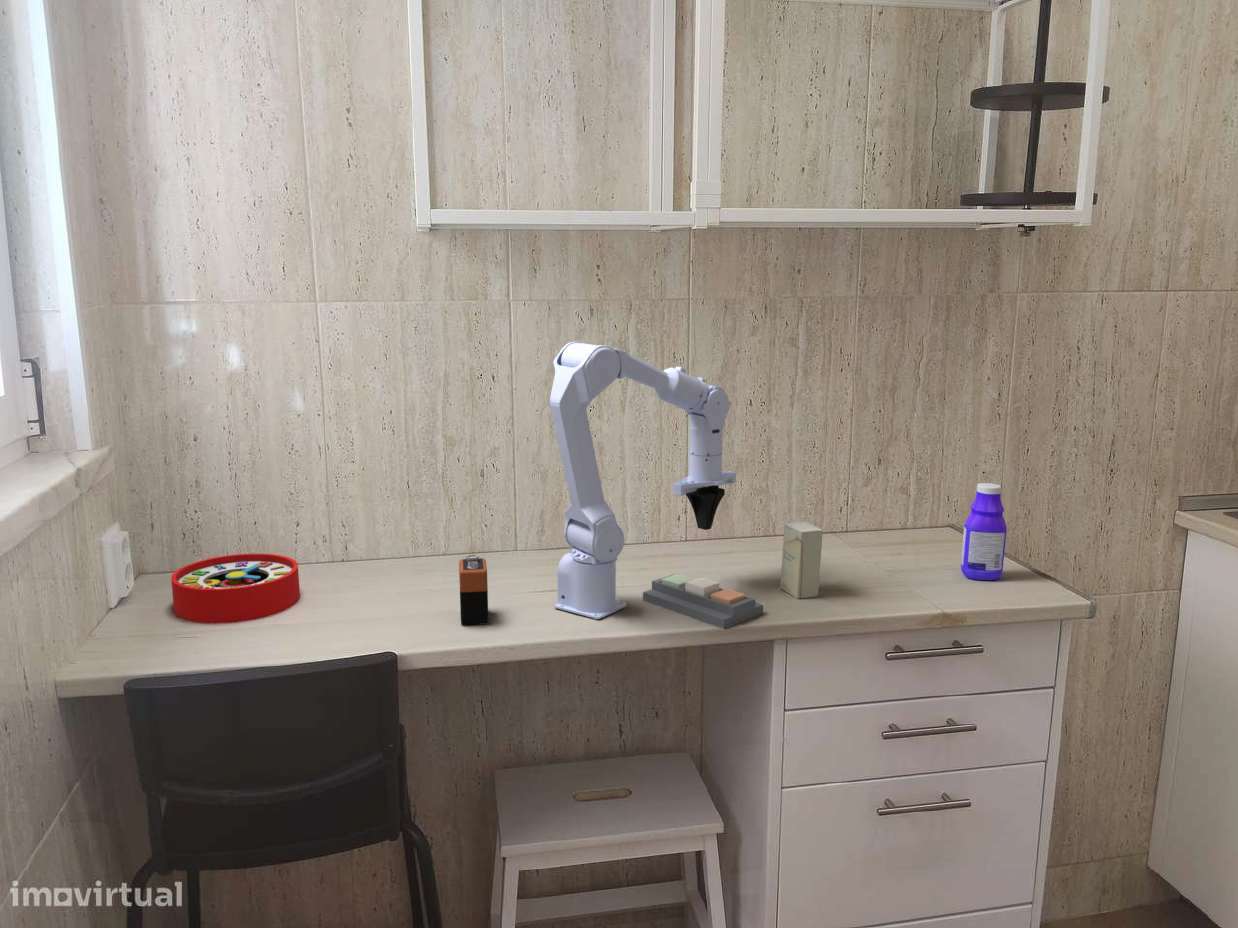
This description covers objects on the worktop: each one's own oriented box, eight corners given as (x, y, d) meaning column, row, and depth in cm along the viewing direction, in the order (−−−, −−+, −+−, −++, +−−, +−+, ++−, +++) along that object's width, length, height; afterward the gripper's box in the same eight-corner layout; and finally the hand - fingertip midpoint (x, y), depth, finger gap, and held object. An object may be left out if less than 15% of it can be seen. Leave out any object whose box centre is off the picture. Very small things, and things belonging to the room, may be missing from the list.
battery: (487, 610, 164) (485, 552, 162) (488, 624, 157) (487, 564, 155) (460, 611, 163) (458, 553, 161) (461, 626, 156) (459, 566, 154)
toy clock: (143, 583, 159) (224, 549, 178) (146, 617, 161) (227, 580, 179) (248, 595, 154) (321, 558, 173) (251, 630, 155) (323, 590, 174)
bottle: (997, 572, 184) (1004, 481, 181) (1005, 582, 179) (1013, 488, 175) (957, 571, 185) (964, 480, 181) (964, 581, 179) (971, 487, 176)
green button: (661, 587, 169) (661, 578, 169) (677, 582, 172) (677, 573, 171) (678, 593, 166) (678, 584, 166) (694, 588, 169) (694, 579, 169)
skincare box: (779, 588, 175) (782, 522, 172) (801, 585, 176) (804, 520, 174) (798, 599, 169) (801, 531, 167) (820, 596, 171) (823, 529, 168)
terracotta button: (710, 603, 161) (710, 594, 161) (726, 597, 164) (726, 588, 164) (729, 609, 158) (729, 600, 158) (744, 603, 161) (745, 594, 161)
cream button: (685, 591, 165) (685, 582, 165) (701, 586, 168) (701, 577, 167) (703, 597, 162) (703, 587, 162) (719, 591, 165) (719, 582, 165)
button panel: (642, 600, 168) (643, 583, 168) (682, 587, 175) (682, 571, 175) (723, 628, 156) (724, 610, 155) (763, 613, 162) (763, 595, 162)
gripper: (694, 462, 164) (693, 540, 167) (749, 450, 174) (747, 525, 177) (664, 456, 169) (663, 532, 172) (719, 445, 179) (717, 517, 182)
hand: (704, 528), depth 175 cm, fingers closed
